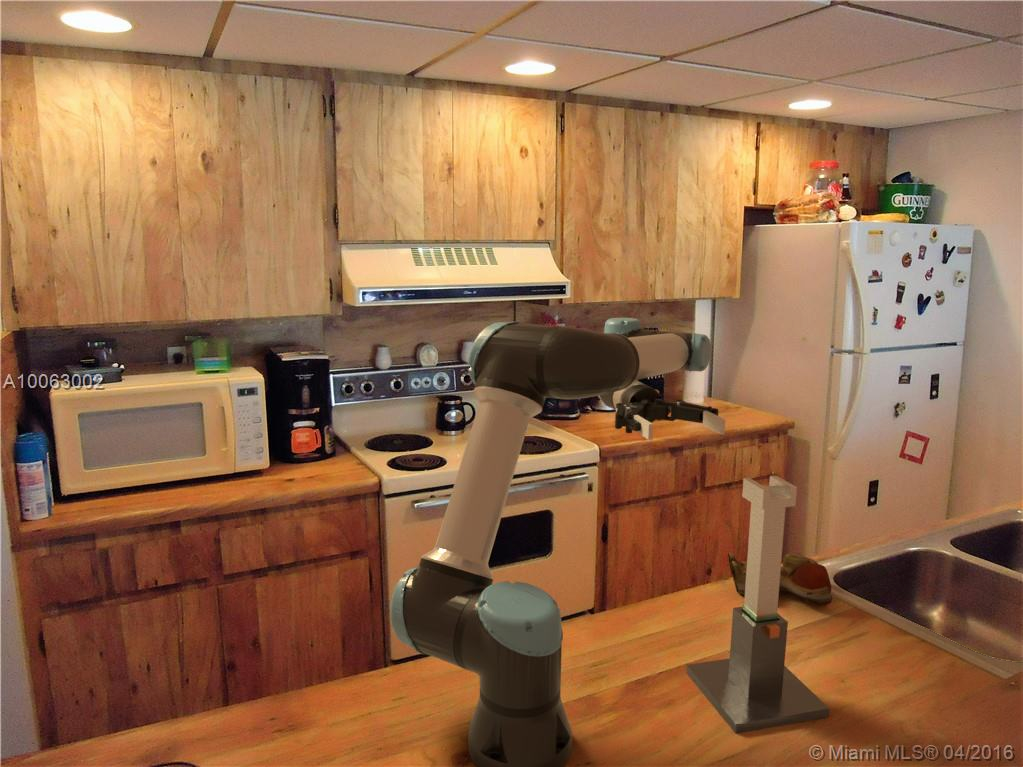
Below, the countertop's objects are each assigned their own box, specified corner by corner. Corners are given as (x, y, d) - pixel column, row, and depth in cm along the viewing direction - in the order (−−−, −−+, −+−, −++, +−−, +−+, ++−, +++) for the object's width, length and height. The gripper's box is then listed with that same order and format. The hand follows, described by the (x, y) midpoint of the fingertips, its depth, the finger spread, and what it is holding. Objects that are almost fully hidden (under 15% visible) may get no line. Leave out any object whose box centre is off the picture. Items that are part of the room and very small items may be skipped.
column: (751, 661, 116) (763, 490, 110) (732, 642, 121) (743, 478, 116) (783, 656, 117) (797, 487, 112) (763, 637, 123) (775, 475, 117)
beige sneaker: (722, 544, 159) (817, 540, 158) (721, 582, 161) (815, 578, 161) (741, 578, 145) (845, 574, 144) (740, 620, 147) (843, 615, 146)
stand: (735, 733, 111) (741, 648, 108) (686, 672, 127) (690, 596, 124) (828, 717, 115) (836, 634, 112) (769, 660, 130) (775, 586, 127)
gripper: (694, 417, 152) (750, 445, 132) (578, 424, 146) (618, 455, 126) (696, 381, 151) (753, 404, 131) (579, 386, 145) (620, 412, 125)
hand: (687, 429), depth 128 cm, fingers open, 13 cm apart
